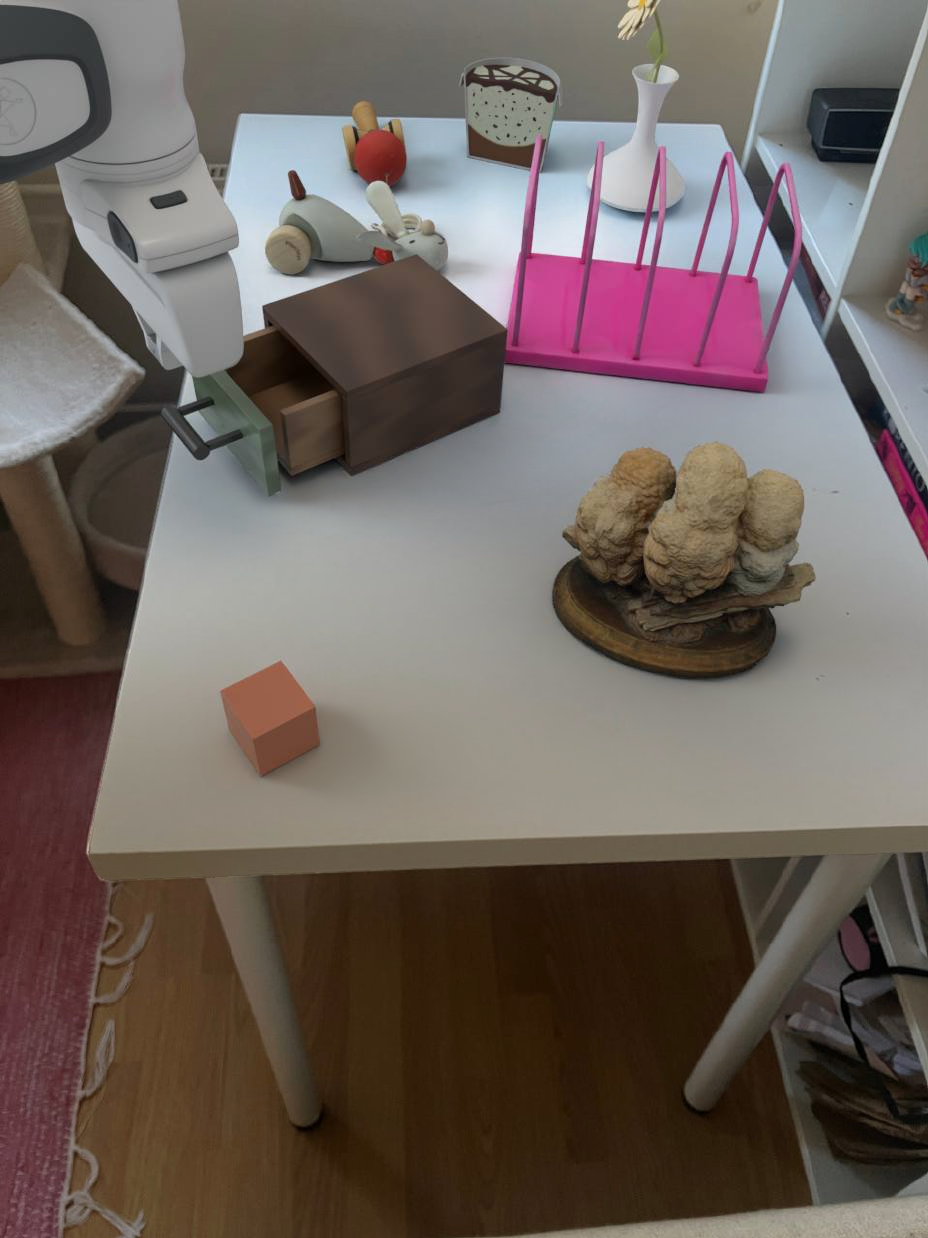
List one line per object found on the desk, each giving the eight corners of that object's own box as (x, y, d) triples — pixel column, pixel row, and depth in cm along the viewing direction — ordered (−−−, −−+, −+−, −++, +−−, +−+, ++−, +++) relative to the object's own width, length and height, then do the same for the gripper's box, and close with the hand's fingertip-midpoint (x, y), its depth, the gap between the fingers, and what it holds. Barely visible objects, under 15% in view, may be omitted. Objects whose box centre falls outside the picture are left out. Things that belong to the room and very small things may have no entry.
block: (260, 777, 66) (252, 739, 62) (228, 729, 68) (219, 690, 65) (320, 744, 68) (315, 706, 64) (287, 699, 70) (281, 660, 67)
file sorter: (517, 266, 107) (531, 115, 95) (753, 292, 106) (798, 143, 94) (501, 364, 96) (515, 207, 84) (764, 394, 95) (817, 239, 83)
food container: (566, 153, 124) (577, 67, 116) (552, 175, 120) (563, 87, 112) (472, 133, 126) (476, 47, 118) (455, 154, 122) (459, 67, 115)
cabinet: (351, 476, 85) (346, 391, 78) (272, 389, 92) (261, 305, 85) (500, 412, 91) (508, 329, 84) (415, 336, 98) (416, 253, 91)
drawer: (220, 516, 80) (207, 450, 74) (152, 429, 86) (136, 362, 81) (417, 433, 87) (418, 367, 82) (342, 359, 94) (338, 293, 88)
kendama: (328, 138, 126) (345, 189, 113) (333, 84, 122) (352, 130, 109) (388, 147, 128) (412, 198, 115) (396, 94, 124) (421, 140, 111)
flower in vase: (603, 165, 122) (640, -75, 103) (693, 188, 120) (748, -54, 100) (565, 212, 115) (597, -37, 95) (660, 238, 112) (713, -13, 93)
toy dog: (453, 281, 104) (457, 198, 98) (273, 299, 101) (264, 214, 94) (427, 221, 112) (429, 140, 105) (259, 235, 108) (249, 152, 102)
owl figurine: (788, 586, 79) (865, 414, 66) (780, 704, 72) (865, 537, 59) (565, 537, 81) (596, 361, 68) (535, 647, 74) (563, 474, 61)
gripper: (23, 121, 68) (71, 301, 79) (153, 264, 58) (188, 448, 68) (112, 102, 71) (147, 279, 81) (251, 235, 60) (270, 417, 71)
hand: (167, 358), depth 75 cm, fingers closed
